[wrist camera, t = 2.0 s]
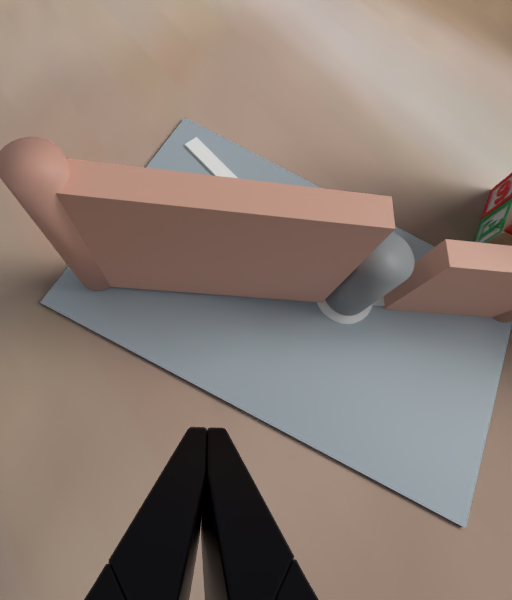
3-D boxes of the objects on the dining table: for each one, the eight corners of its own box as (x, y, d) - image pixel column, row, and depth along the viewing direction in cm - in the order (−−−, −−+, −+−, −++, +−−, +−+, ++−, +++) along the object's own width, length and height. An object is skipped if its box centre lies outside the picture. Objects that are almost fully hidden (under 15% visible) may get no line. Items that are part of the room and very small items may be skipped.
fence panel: (366, 273, 23) (467, 181, 14) (370, 317, 22) (479, 246, 13) (84, 248, 21) (7, 123, 12) (74, 296, 20) (-16, 196, 11)
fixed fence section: (382, 314, 23) (458, 268, 16) (379, 284, 23) (451, 227, 17) (515, 324, 24) (635, 284, 17) (508, 295, 25) (622, 246, 18)
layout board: (463, 527, 19) (467, 529, 19) (41, 303, 20) (38, 301, 20) (517, 291, 25) (521, 289, 24) (184, 119, 25) (184, 115, 25)
